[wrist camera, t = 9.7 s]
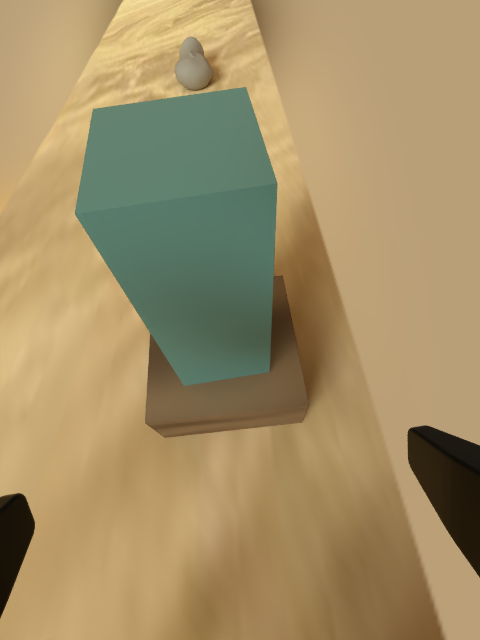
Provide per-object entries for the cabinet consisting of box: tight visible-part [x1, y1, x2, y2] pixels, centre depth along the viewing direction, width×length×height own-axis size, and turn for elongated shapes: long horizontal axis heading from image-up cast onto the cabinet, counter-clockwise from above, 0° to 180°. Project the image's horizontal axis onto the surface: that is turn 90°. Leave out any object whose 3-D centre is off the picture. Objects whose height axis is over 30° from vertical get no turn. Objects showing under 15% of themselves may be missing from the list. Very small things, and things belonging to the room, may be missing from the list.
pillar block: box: [75, 87, 277, 386], centre depth 15 cm, size 5×5×12 cm
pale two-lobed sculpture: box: [175, 37, 214, 90], centre depth 45 cm, size 4×8×5 cm
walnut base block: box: [145, 276, 309, 438], centre depth 22 cm, size 9×9×4 cm
